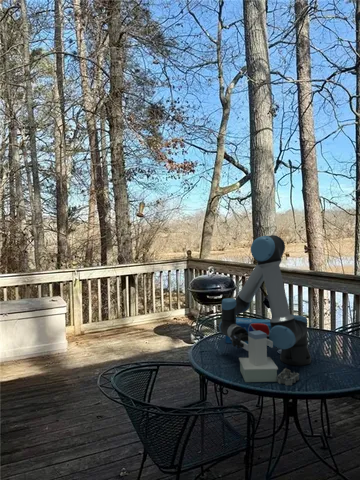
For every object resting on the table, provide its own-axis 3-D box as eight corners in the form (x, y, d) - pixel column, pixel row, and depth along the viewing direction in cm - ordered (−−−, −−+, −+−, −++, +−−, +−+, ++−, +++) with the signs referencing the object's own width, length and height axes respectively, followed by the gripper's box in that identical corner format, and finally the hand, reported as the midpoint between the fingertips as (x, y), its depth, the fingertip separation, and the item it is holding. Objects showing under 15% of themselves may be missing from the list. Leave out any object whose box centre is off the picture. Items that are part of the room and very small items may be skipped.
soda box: (225, 344, 233) (224, 322, 233) (230, 337, 246) (229, 316, 245) (296, 349, 220) (296, 326, 219) (298, 342, 233) (297, 320, 232)
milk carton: (259, 359, 187) (259, 330, 186) (266, 364, 181) (266, 333, 181) (248, 361, 185) (248, 331, 184) (255, 365, 179) (255, 335, 178)
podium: (270, 369, 191) (270, 357, 190) (278, 381, 176) (278, 368, 175) (239, 370, 190) (238, 357, 190) (244, 382, 175) (244, 369, 175)
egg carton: (286, 375, 183) (286, 367, 183) (301, 380, 178) (301, 370, 178) (274, 382, 175) (274, 373, 175) (289, 387, 170) (289, 377, 170)
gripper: (258, 338, 203) (283, 351, 183) (215, 343, 196) (236, 357, 175) (258, 323, 203) (283, 335, 183) (215, 328, 195) (236, 340, 175)
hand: (260, 346), depth 179 cm, fingers open, 12 cm apart
